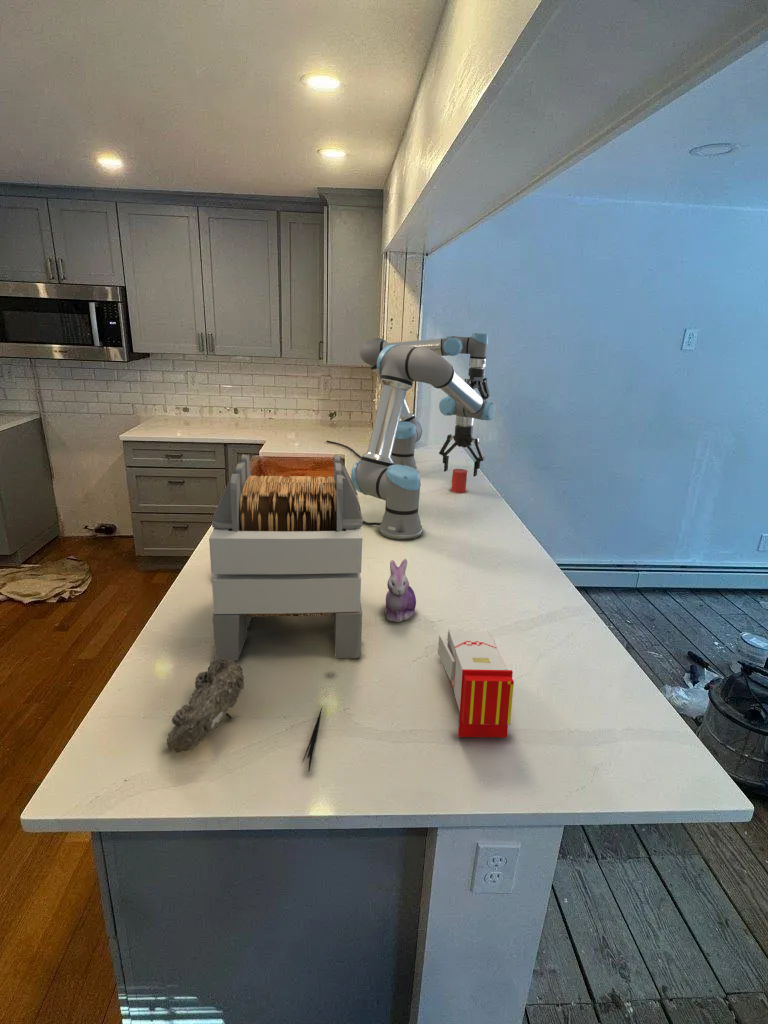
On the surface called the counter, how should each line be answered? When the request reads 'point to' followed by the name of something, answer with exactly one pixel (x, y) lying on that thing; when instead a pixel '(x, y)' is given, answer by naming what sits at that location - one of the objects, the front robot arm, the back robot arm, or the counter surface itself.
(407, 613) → the figurine
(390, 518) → the front robot arm
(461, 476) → the canister
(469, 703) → the toy
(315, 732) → the feather
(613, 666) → the counter surface
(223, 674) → the fossil
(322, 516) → the record crate
